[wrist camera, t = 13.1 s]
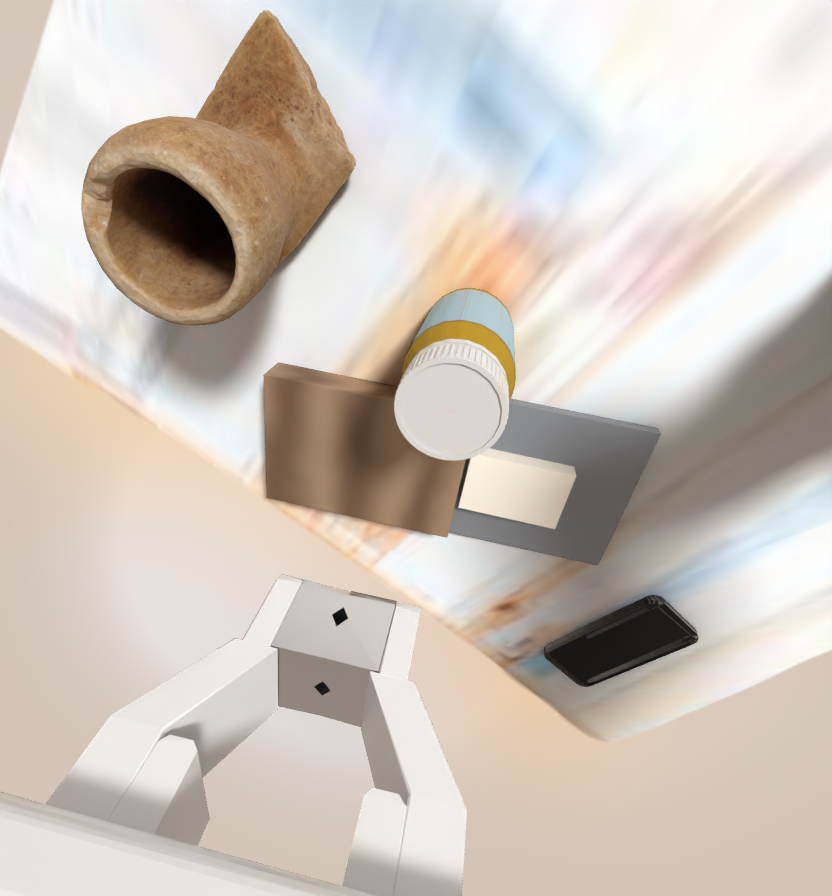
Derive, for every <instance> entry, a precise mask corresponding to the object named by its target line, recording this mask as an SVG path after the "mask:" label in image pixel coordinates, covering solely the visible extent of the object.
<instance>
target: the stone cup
mask: <svg viewBox="0 0 832 896" xmlns="http://www.w3.org/2000/svg"><path fill="white" fill-rule="evenodd" d="M355 166H356V162H355V159H354V157H353V155H352V154H351V153H350V152H349V150H348V148H347V146H346V143H345V140H344V137H343V133H342V130H341V129H340V128H339V126H338V125H337V124H336V121H335V119H334V117H333V115H332V114H331V112H330V109H329V106H328V104H327V102H326V101H325V99H324V98H323V97H322V96H321V94H320V93H319V91H318V89H317V84H316V81H315V79H314V76H313V74H312V72H311V70H310V68H309V66H308V64H307V63H306V62H305V60H304V59H303V57H302V55H301V54H300V52H299V51H298V49H297V47H296V46H295V44H294V43H293V41H292V39H291V38H290V37H289V36H288V34H287V33H286V32H285V30H284V29H283V27H282V25H281V24H280V22H279V20H278V19H277V17H276V16H274V15H273V14H272V13H271V12H270V11H269V10H265V11H263V12H262V13H260V14H259V16H258V17H257V19H256V20H255V22H254V23H253V25H252V26H251V28H250V29H249V31H248V32H247V34H246V35H245V37H244V38H243V40H242V42H241V43H240V45H239V46H238V48H237V49H236V51H235V52H234V54H233V55H232V57H231V59H230V60H229V62H228V64H227V66H226V68H225V69H224V71H223V73H222V74H221V76H220V78H219V79H218V81H217V83H216V86H215V88H214V90H213V91H212V92H211V94H210V95H209V96H208V98H207V100H206V101H205V103H204V105H203V107H202V108H201V110H200V112H199V113H198V115H197V117H196V119H194V118H188V117H171V116H168V117H163V118H157V119H151V120H147V121H143V122H140V123H136V124H133V125H130V126H127V127H125V128H123V129H122V130H120V131H119V132H117V133H116V134H114V135H113V136H111V137H110V138H108V140H107V141H106V142H105V143H104V144H103V145H102V147H101V148H100V149H99V150H98V151H97V153H96V154H95V156H94V157H93V159H92V160H91V162H90V163H89V166H88V169H87V173H86V176H85V179H84V184H83V192H82V216H83V223H84V229H85V232H86V236H87V240H88V242H89V244H90V247H91V249H92V251H93V253H94V255H95V257H96V259H97V261H98V262H99V264H100V266H101V268H102V270H103V271H104V272H105V274H106V275H107V276H108V277H109V279H110V280H111V281H112V283H113V284H114V285H115V286H116V288H117V289H118V290H120V291H121V292H122V293H123V294H124V295H125V296H126V297H128V298H129V299H130V300H131V301H132V302H133V303H135V304H136V305H138V306H139V307H140V308H142V309H143V310H145V311H147V312H149V313H151V314H153V315H155V316H156V317H159V318H161V319H164V320H167V321H169V322H172V323H177V324H182V325H207V324H214V323H218V322H221V321H223V320H225V319H228V318H230V317H231V316H232V315H234V314H235V313H236V312H237V311H239V310H240V309H241V308H243V307H244V306H245V305H246V304H247V303H248V302H250V301H251V300H252V298H253V297H254V296H255V295H256V294H257V293H258V292H259V291H260V290H261V288H262V287H263V286H264V285H265V283H266V282H267V281H268V280H269V278H270V277H271V275H272V273H273V271H274V269H275V267H276V266H277V265H278V264H280V263H281V262H282V261H283V260H284V259H285V258H286V257H287V256H289V254H290V253H291V252H292V251H293V250H294V249H295V248H296V247H297V245H298V244H299V243H300V242H301V240H302V239H303V238H304V237H305V235H306V234H307V233H308V231H309V230H310V229H311V227H312V226H313V225H314V223H315V222H316V221H317V219H318V218H319V217H320V215H321V214H322V212H323V211H324V210H325V208H326V207H327V205H328V204H329V203H330V201H331V200H332V199H333V197H334V196H335V194H336V193H337V192H338V190H339V189H340V188H341V187H342V185H343V184H344V183H345V182H346V180H347V179H348V178H349V176H350V174H351V173H352V171H353V169H354V167H355Z"/></svg>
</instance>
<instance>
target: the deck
mask: <svg viewBox="0 0 832 896" xmlns="http://www.w3.org/2000/svg"><path fill="white" fill-rule="evenodd" d="M397 388H398V387H396V386H391V385H386V384H382V383H377V382H372V381H367V380H362V379H357V378H352V377H347V376H342V375H337V374H332V373H327V372H322V371H318V370H313V369H308V368H303V367H298V366H293V365H288V364H283V363H277V364H276V365H275V366H274V367H273V368H271V369H270V370H269V371H268V372H267V373H265V374H264V405H265V443H266V481H267V498H272V499H276V500H281V501H285V502H290V503H294V504H299V505H303V506H307V507H312V508H316V509H321V510H325V511H330V512H334V513H339V514H343V515H348V516H352V517H357V518H361V519H366V520H370V521H375V522H379V523H384V524H388V525H393V526H397V527H402V528H406V529H411V530H415V531H420V532H424V533H428V534H433V535H437V536H442V537H446V538H447V537H448V532H449V528H450V524H451V520H452V516H453V511H454V507H455V503H456V499H457V495H458V490H459V486H460V482H461V478H462V474H463V469H464V465H465V461H466V459H464V460H455V461H451V460H442V459H437V458H434V457H431V456H429V455H426V454H424V453H423V452H421V451H419V450H418V449H416V448H415V447H414V446H413V445H411V444H410V443H409V442H408V440H407V439H406V438H405V437H404V435H403V434H402V432H401V431H400V429H399V427H398V424H397V421H396V418H395V412H394V401H395V398H394V397H395V395H396V390H397Z"/></svg>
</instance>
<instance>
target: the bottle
mask: <svg viewBox="0 0 832 896" xmlns="http://www.w3.org/2000/svg"><path fill="white" fill-rule="evenodd" d="M515 379H516V378H515V352H514V330H513V323H512V320H511V317H510V314H509V312H508V310H507V308H506V307H505V306H504V304H503V303H502V302H501V301H500V300H499V299H498V298H497V297H495V296H494V295H492V294H490V293H489V292H487V291H484V290H480V289H475V288H465V289H458V290H455V291H453V292H450V293H448V294H446V295H444V296H443V297H442V298H441V299H440V300H439V301H437V302H436V303H435V304H434V306H433V307H432V308H431V310H430V312H429V314H428V315H427V317H426V319H425V321H424V323H423V324H422V326H421V328H420V330H419V332H418V334H417V335H416V337H415V339H414V341H413V343H412V344H411V346H410V348H409V350H408V352H407V354H406V357H405V359H404V364H403V369H402V379H401V381H400V383H399V385H398V388H397V390H396V395H395V397H394V398H395V401H394V412H395V418H396V421H397V424H398V427H399V429H400V431H401V432H402V434H403V435H404V437H405V438H406V439H407V440H408V442H409V443H410V444H411V445H413V446H414V447H415V448H416V449H418V450H419V451H421V452H423V453H424V454H426V455H429V456H431V457H434V458H437V459H442V460H451V461H455V460H464V459H469V458H472V457H475V456H477V455H480V454H481V453H483V452H485V451H486V450H488V449H489V448H490V447H491V446H493V445H494V444H495V442H496V441H497V440H498V439H499V437H500V436H501V435H502V432H503V430H504V429H505V425H506V424H507V419H508V413H509V401H510V399H511V396H512V393H513V390H514V386H515Z"/></svg>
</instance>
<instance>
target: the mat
mask: <svg viewBox="0 0 832 896" xmlns="http://www.w3.org/2000/svg"><path fill="white" fill-rule="evenodd" d="M659 437H660V432H659V430H658V429H657V428H653V427H648V426H643V425H638V424H633V423H628V422H623V421H618V420H613V419H609V418H604V417H599V416H594V415H589V414H584V413H579V412H574V411H569V410H564V409H559V408H554V407H549V406H544V405H539V404H534V403H529V402H524V401H519V400H514V399H510V401H509V413H508V419H507V424H506V425H505V429H504V430H503V432H502V435H501V436H500V437H499V439H498V440H497V441H496V442H495V444H494V445H493V446H491V447H490V449H495V450H499V451H504V452H509V453H513V454H518V455H523V456H527V457H532V458H537V459H541V460H546V461H550V462H555V463H560V464H564V465H569V466H574V468H575V472H576V478H575V481H574V483H573V486H572V488H571V491H570V493H569V496H568V498H567V501H566V503H565V506H564V508H563V511H562V513H561V516H560V518H559V521H558V523H557V526H556V528H555V529H552V528H547V527H543V526H538V525H534V524H529V523H525V522H520V521H516V520H511V519H507V518H503V517H498V516H494V515H489V514H485V513H480V512H476V511H471V510H467V509H462V508H458V506H459V499H460V495H461V491H462V487H463V483H464V479H465V475H466V471H467V467H468V463H469V459H470V458H469V459H466V461H465V465H464V469H463V474H462V478H461V482H460V486H459V490H458V495H457V499H456V503H455V507H454V511H453V516H452V520H451V524H450V528H449V532H450V533H455V534H459V535H464V536H468V537H473V538H477V539H482V540H486V541H490V542H495V543H499V544H504V545H508V546H513V547H517V548H522V549H526V550H531V551H535V552H540V553H544V554H549V555H553V556H558V557H562V558H567V559H571V560H576V561H580V562H585V563H589V564H594V565H598V564H599V561H600V559H601V557H602V555H603V553H604V551H605V549H606V547H607V545H608V543H609V541H610V539H611V536H612V534H613V532H614V530H615V528H616V526H617V524H618V522H619V520H620V518H621V516H622V514H623V511H624V509H625V507H626V505H627V503H628V501H629V499H630V497H631V495H632V493H633V491H634V489H635V487H636V484H637V482H638V480H639V478H640V476H641V474H642V472H643V470H644V468H645V466H646V464H647V462H648V459H649V457H650V455H651V453H652V451H653V449H654V447H655V445H656V443H657V441H658V439H659Z"/></svg>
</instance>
